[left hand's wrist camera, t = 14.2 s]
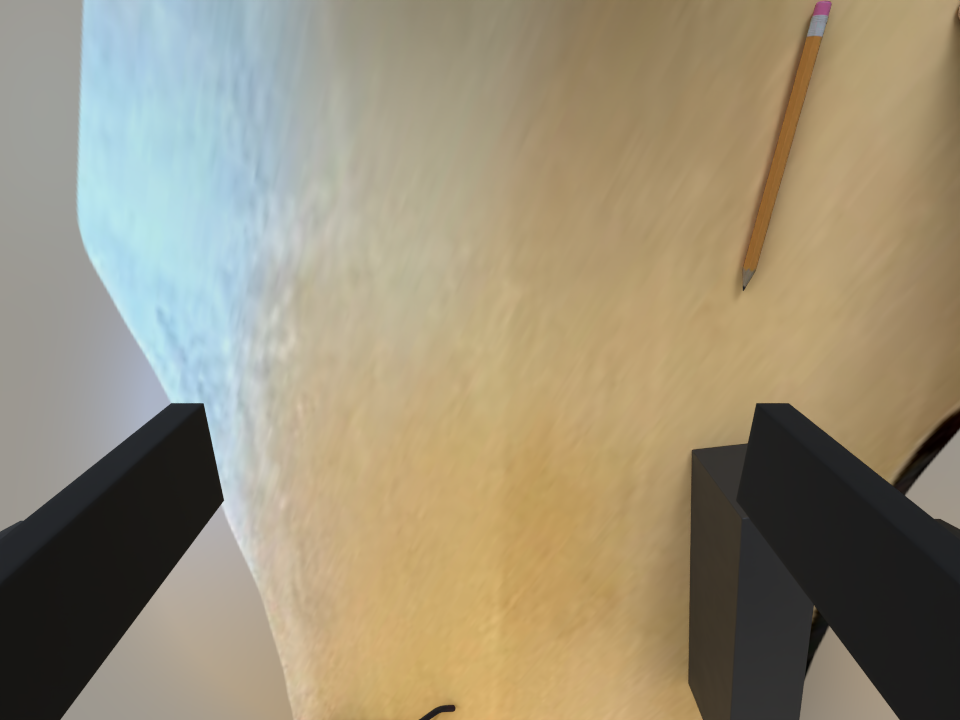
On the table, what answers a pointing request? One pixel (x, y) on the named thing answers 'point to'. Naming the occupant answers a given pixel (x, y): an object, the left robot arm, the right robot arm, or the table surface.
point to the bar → (740, 604)
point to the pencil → (786, 136)
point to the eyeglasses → (438, 711)
